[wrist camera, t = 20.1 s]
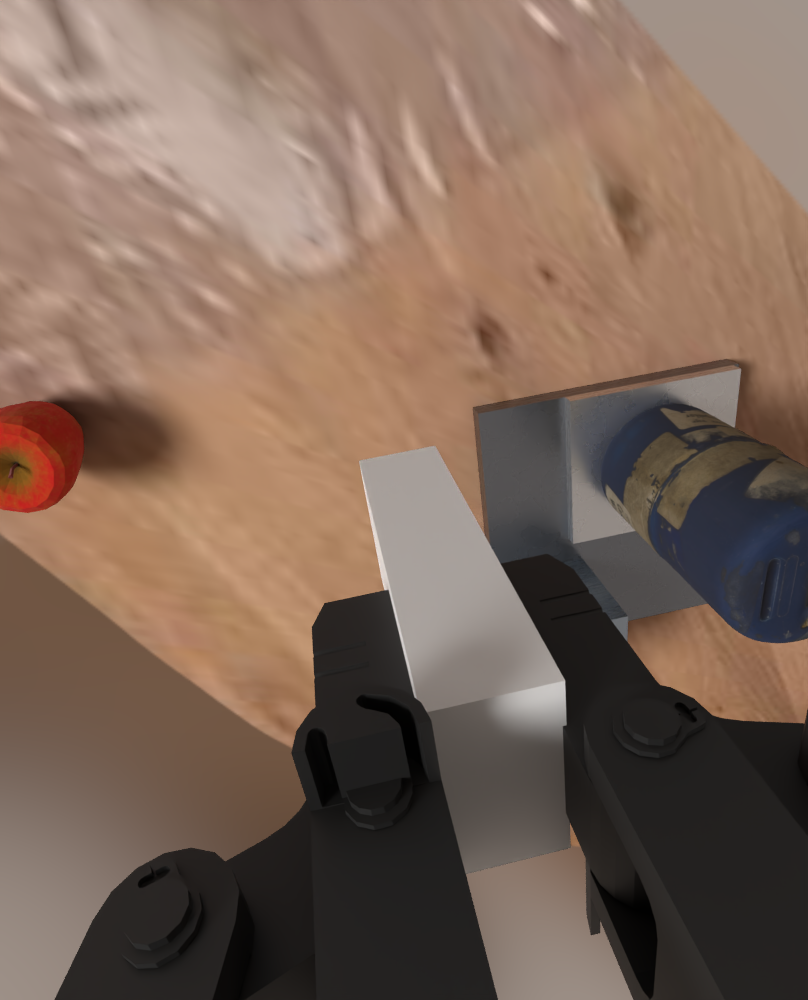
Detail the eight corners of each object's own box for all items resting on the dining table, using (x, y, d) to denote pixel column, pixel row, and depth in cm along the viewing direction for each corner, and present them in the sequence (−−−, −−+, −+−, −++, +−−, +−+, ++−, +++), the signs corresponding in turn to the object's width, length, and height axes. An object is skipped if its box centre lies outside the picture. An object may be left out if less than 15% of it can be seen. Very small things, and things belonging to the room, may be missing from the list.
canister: (728, 401, 47) (953, 510, 31) (690, 514, 51) (871, 663, 35) (609, 393, 45) (783, 506, 29) (580, 512, 49) (718, 667, 33)
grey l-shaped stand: (472, 407, 47) (512, 455, 38) (726, 359, 48) (818, 395, 40) (494, 638, 57) (530, 717, 48) (703, 592, 58) (773, 660, 50)
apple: (-14, 448, 42) (-70, 497, 36) (15, 368, 40) (-39, 404, 34) (82, 486, 45) (46, 538, 38) (114, 412, 43) (81, 453, 36)
